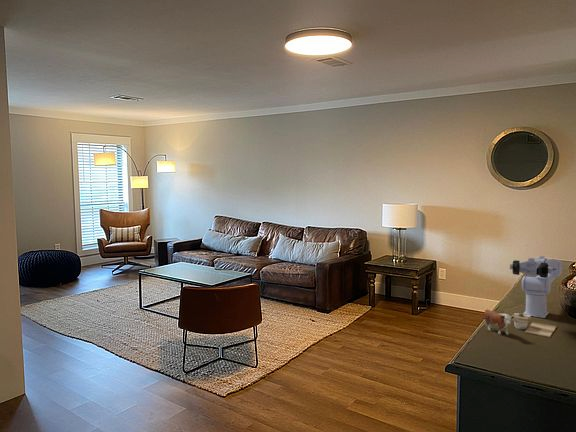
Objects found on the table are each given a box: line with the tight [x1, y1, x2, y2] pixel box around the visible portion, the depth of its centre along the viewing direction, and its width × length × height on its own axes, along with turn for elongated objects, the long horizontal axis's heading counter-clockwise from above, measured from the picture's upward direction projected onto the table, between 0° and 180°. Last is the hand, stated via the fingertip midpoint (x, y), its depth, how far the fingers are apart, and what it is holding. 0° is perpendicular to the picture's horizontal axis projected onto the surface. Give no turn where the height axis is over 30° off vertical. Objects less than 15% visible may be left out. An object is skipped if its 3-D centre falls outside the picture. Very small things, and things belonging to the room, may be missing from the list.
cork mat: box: [524, 321, 558, 339], centre depth 162 cm, size 14×8×1 cm, turn 140°
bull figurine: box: [483, 309, 514, 336], centre depth 160 cm, size 4×13×8 cm, turn 16°
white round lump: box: [513, 320, 529, 330], centre depth 166 cm, size 4×4×3 cm
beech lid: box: [511, 312, 532, 323], centre depth 165 cm, size 6×6×2 cm
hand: (526, 270), depth 165 cm, fingers open, 7 cm apart
